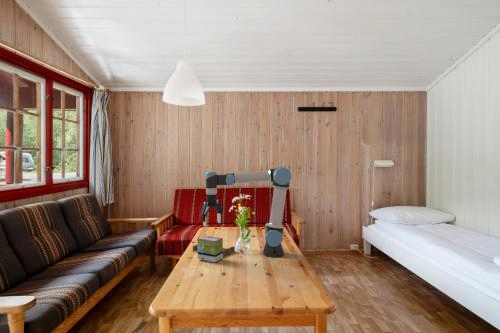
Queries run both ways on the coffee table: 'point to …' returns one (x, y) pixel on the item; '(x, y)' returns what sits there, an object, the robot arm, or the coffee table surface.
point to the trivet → (210, 261)
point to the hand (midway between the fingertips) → (212, 224)
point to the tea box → (210, 248)
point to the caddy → (225, 251)
